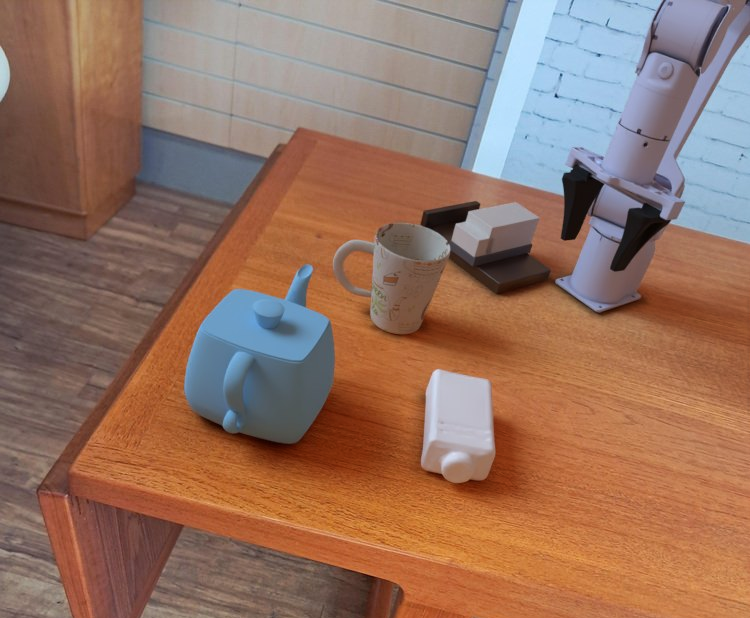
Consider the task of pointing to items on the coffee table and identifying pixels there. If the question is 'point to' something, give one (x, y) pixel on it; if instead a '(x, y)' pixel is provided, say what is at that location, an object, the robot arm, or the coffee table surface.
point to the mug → (398, 273)
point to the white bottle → (458, 427)
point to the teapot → (262, 363)
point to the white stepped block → (494, 234)
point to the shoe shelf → (490, 274)
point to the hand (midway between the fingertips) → (591, 254)
